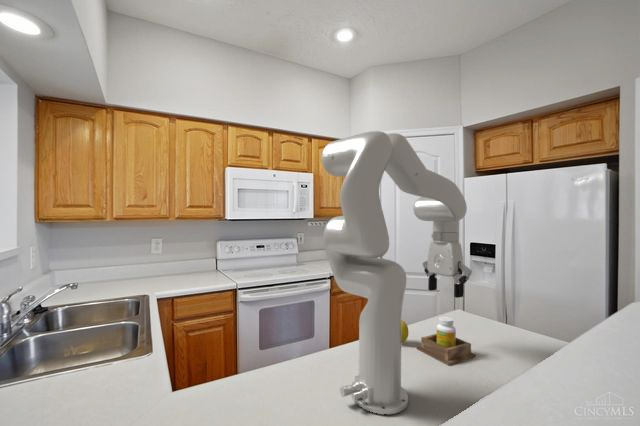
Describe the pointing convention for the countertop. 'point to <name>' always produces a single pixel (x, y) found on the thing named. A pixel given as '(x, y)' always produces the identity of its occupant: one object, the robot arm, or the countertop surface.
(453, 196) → the robot arm
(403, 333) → the lemon
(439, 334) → the supplement bottle
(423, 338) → the brown square bottle holder
